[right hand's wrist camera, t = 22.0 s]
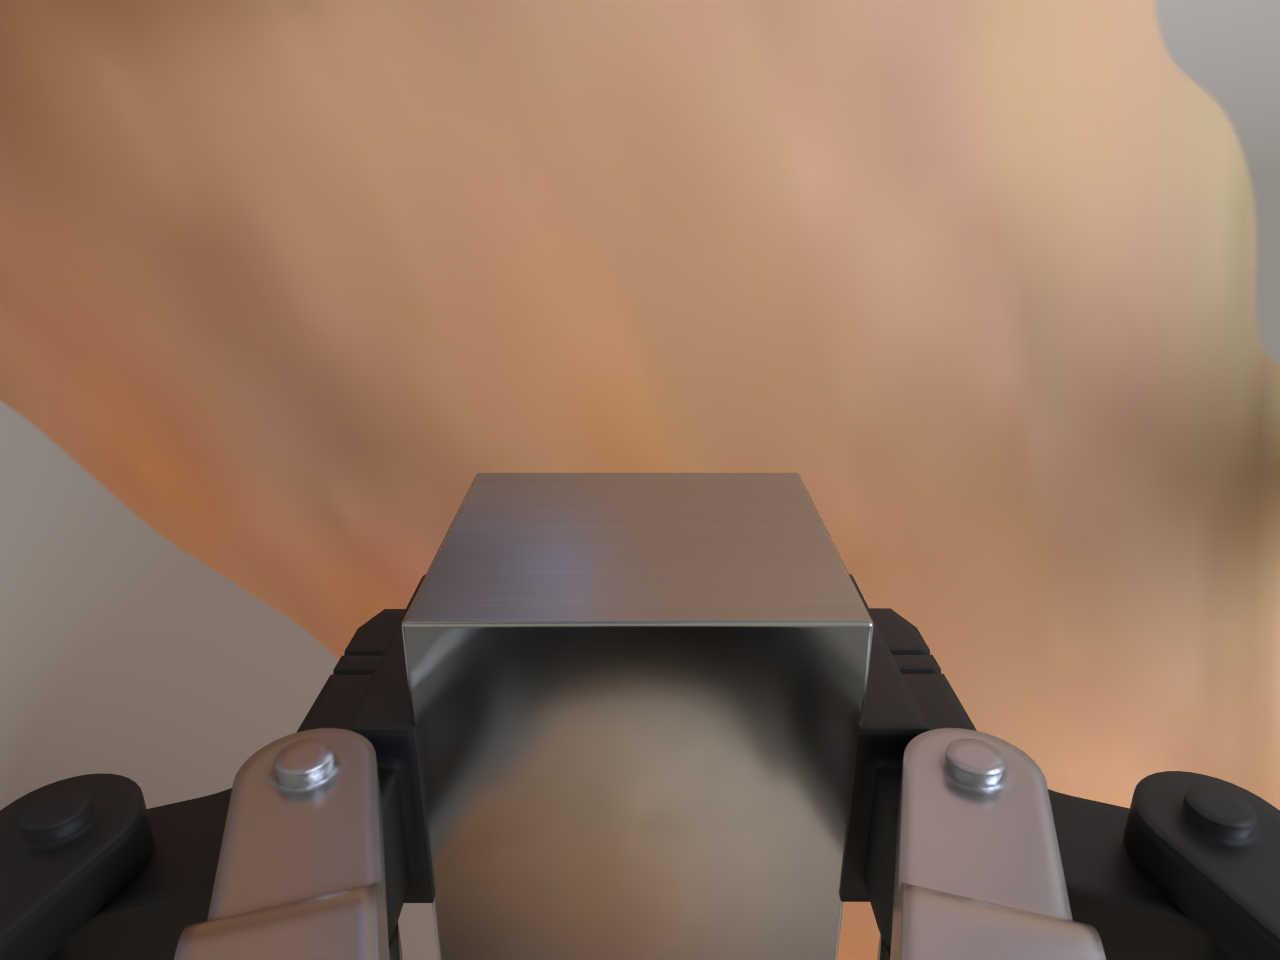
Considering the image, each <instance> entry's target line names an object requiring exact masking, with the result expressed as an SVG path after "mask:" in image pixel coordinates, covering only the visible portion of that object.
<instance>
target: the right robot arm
mask: <svg viewBox="0 0 1280 960" xmlns="http://www.w3.org/2000/svg"><path fill="white" fill-rule="evenodd" d="M849 575H850V577H851V579H852V581H853V583H854V585H855V587H856V589H857V591H858V593H859V595H860V597H861V599H862V601H863V603H864V605H865V607H866V609H867V611H868V613H869V615H870V617H871V619H872V621H873V624H874V627H873V636H872V645H871V654H870V663H869V672H868V681H867V691H866V700H865V709H864V718H863V724H862V725H859V726H858V733H857V743H856V752H855V761H854V770H853V780H852V789H851V798H850V808H849V817H848V826H847V836H846V845H845V854H844V864H843V873H842V882H841V892H840V900H841V902H871V905H872V909H873V912H874V915H875V918H876V922H877V925H878V928H879V931H880V941H879V949H878V960H1280V811H1279V810H1278V809H1276V808H1275V807H1274V806H1272V805H1271V804H1269V803H1268V802H1266V801H1265V800H1263V799H1262V798H1260V797H1258V796H1257V795H1255V794H1253V793H1251V792H1249V791H1247V790H1245V789H1243V788H1241V787H1239V786H1236V785H1234V784H1232V783H1229V782H1226V781H1223V780H1221V779H1218V778H1214V777H1210V776H1207V775H1202V774H1197V773H1192V772H1181V771H1166V772H1160V773H1155V774H1152V775H1149V776H1147V777H1145V778H1144V779H1142V780H1141V781H1140V782H1139V783H1138V784H1137V786H1136V788H1135V791H1134V794H1133V798H1132V802H1131V806H1130V809H1129V808H1124V807H1120V806H1115V805H1111V804H1106V803H1101V802H1097V801H1092V800H1087V799H1083V798H1078V797H1074V796H1069V795H1065V794H1062V793H1058V792H1055V791H1052V790H1049V789H1048V787H1047V783H1046V780H1045V777H1044V774H1043V773H1042V771H1041V769H1040V768H1039V767H1038V765H1037V764H1036V763H1035V762H1034V761H1033V760H1032V759H1031V758H1030V757H1029V756H1028V755H1027V754H1026V753H1024V752H1023V751H1021V750H1020V749H1018V748H1017V747H1016V746H1014V745H1012V744H1010V743H1008V742H1006V741H1004V740H1002V739H1000V738H997V737H995V736H992V735H989V734H986V733H983V732H979V731H977V730H976V729H975V727H974V725H973V723H972V722H971V720H970V718H969V717H968V715H967V713H966V711H965V710H964V708H963V706H962V705H961V703H960V701H959V699H958V698H957V696H956V694H955V693H954V691H953V689H952V687H951V686H950V684H949V682H948V681H947V679H946V677H945V675H944V674H941V669H940V667H939V665H938V663H937V662H936V660H935V658H934V657H933V655H930V650H929V648H928V646H927V645H926V643H925V641H924V639H923V638H922V636H921V634H920V633H919V631H918V629H917V628H916V627H915V626H913V625H912V624H911V623H909V622H908V621H907V620H905V619H904V618H903V617H901V616H900V615H899V614H897V613H896V612H894V611H893V610H892V609H869V608H868V606H867V604H866V602H865V600H864V598H863V596H862V594H861V592H860V590H859V588H858V586H857V584H856V582H855V580H854V578H853V576H852V575H851V574H849ZM425 576H426V575H424V576H423V577H422V579H421V581H420V583H419V585H418V587H417V588H416V590H415V592H414V594H413V596H412V598H411V600H410V602H409V604H408V606H407V608H406V609H384V610H383V611H382V612H380V613H379V614H377V615H376V616H375V617H373V618H372V619H371V620H369V621H368V622H366V623H365V624H364V625H362V626H361V627H360V628H358V630H357V631H356V633H355V635H354V636H353V638H352V640H351V641H350V643H349V645H348V646H347V648H346V650H345V655H344V656H342V657H341V658H340V660H339V662H338V663H337V665H336V667H335V668H334V674H333V675H330V677H329V679H328V680H327V682H326V684H325V685H324V687H323V689H322V690H321V692H320V694H319V695H318V697H317V699H316V701H315V702H314V704H313V706H312V707H311V709H310V711H309V712H308V714H307V716H306V717H305V719H304V721H303V723H302V724H301V726H300V728H299V729H298V731H297V733H294V734H291V735H288V736H285V737H283V738H280V739H278V740H276V741H274V742H272V743H270V744H268V745H266V746H264V747H263V748H261V749H260V750H259V751H257V752H256V753H254V754H253V755H252V756H251V757H250V758H249V759H248V760H247V761H246V762H245V763H244V764H243V765H242V766H241V768H240V769H239V771H238V773H237V774H236V776H235V779H234V782H233V787H232V788H231V789H228V790H225V791H222V792H219V793H217V794H213V795H209V796H205V797H201V798H197V799H192V800H187V801H183V802H178V803H173V804H169V805H164V806H160V807H155V808H150V809H146V805H145V801H144V797H143V794H142V791H141V789H140V787H139V786H138V785H137V784H136V783H135V782H134V781H132V780H131V779H129V778H126V777H123V776H121V775H114V774H89V775H82V776H77V777H72V778H68V779H65V780H61V781H57V782H55V783H52V784H49V785H46V786H44V787H41V788H39V789H37V790H35V791H32V792H30V793H28V794H27V795H25V796H23V797H21V798H19V799H17V800H16V801H14V802H13V803H11V804H10V805H8V806H7V807H5V808H4V809H2V810H1V811H0V960H402V949H401V942H400V934H399V926H398V919H399V916H400V912H401V909H402V906H403V903H433V902H434V888H433V879H432V870H431V861H430V852H429V843H428V834H427V825H426V816H425V807H424V798H423V789H422V780H421V770H420V761H419V752H418V743H417V734H416V726H414V725H413V724H412V718H411V709H410V700H409V691H408V682H407V673H406V664H405V655H404V646H403V637H402V628H401V624H402V621H403V619H404V617H405V615H406V613H407V611H408V609H409V607H410V605H411V603H412V601H413V599H414V597H415V595H416V593H417V592H418V590H419V588H420V586H421V584H422V582H423V580H424V578H425Z"/></svg>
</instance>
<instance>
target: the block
mask: <svg viewBox="0 0 1280 960" xmlns="http://www.w3.org/2000/svg"><path fill="white" fill-rule="evenodd" d="M873 627H874V624H873V621H872V619H871V617H870V615H869V613H868V611H867V609H866V607H865V605H864V603H863V601H862V599H861V597H860V595H859V593H858V591H857V589H856V587H855V585H854V583H853V581H852V579H851V577H850V575H849V573H848V571H847V569H846V567H845V565H844V563H843V561H842V559H841V557H840V555H839V553H838V551H837V549H836V547H835V545H834V543H833V541H832V539H831V537H830V535H829V533H828V531H827V529H826V527H825V525H824V523H823V521H822V519H821V517H820V515H819V513H818V511H817V509H816V507H815V505H814V503H813V501H812V499H811V497H810V495H809V493H808V491H807V489H806V487H805V485H804V483H803V481H802V479H801V477H800V475H799V474H797V473H478V474H476V476H475V478H474V480H473V482H472V484H471V486H470V488H469V490H468V492H467V494H466V496H465V498H464V500H463V502H462V504H461V506H460V508H459V510H458V512H457V514H456V516H455V518H454V520H453V522H452V524H451V526H450V528H449V530H448V532H447V534H446V536H445V538H444V540H443V542H442V544H441V546H440V548H439V550H438V552H437V554H436V556H435V558H434V560H433V562H432V564H431V566H430V568H429V570H428V572H427V574H426V576H425V578H424V580H423V582H422V584H421V586H420V588H419V590H418V592H417V593H416V595H415V597H414V599H413V601H412V603H411V605H410V607H409V609H408V611H407V613H406V615H405V617H404V619H403V621H402V624H401V628H402V637H403V646H404V655H405V664H406V673H407V682H408V691H409V700H410V709H411V718H412V724H413V725H414V726H416V734H417V743H418V752H419V761H420V770H421V780H422V789H423V798H424V807H425V816H426V825H427V834H428V843H429V852H430V861H431V870H432V879H433V888H434V902H433V903H432V906H433V915H434V924H435V933H436V942H437V951H438V960H837V955H838V946H839V937H840V928H841V919H842V910H843V902H841V900H840V892H841V882H842V873H843V864H844V854H845V845H846V836H847V826H848V817H849V808H850V798H851V789H852V780H853V770H854V761H855V752H856V743H857V733H858V726H859V725H862V724H863V718H864V709H865V700H866V691H867V681H868V672H869V663H870V654H871V645H872V636H873Z"/></svg>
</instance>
